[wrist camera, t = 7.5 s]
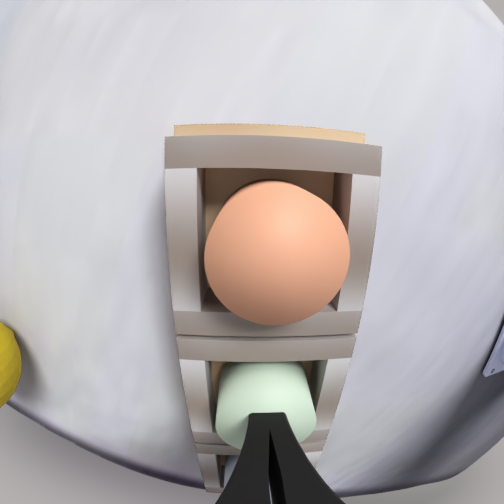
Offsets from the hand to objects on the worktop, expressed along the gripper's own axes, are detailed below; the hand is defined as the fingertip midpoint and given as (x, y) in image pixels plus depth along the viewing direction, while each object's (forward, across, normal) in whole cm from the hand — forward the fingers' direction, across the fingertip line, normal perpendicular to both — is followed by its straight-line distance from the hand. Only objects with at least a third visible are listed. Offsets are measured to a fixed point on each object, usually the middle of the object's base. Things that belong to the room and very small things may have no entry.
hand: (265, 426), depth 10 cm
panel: (+4, 0, 0) cm, 4 cm away
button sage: (+3, 0, 0) cm, 3 cm away
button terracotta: (+3, 0, -7) cm, 8 cm away
